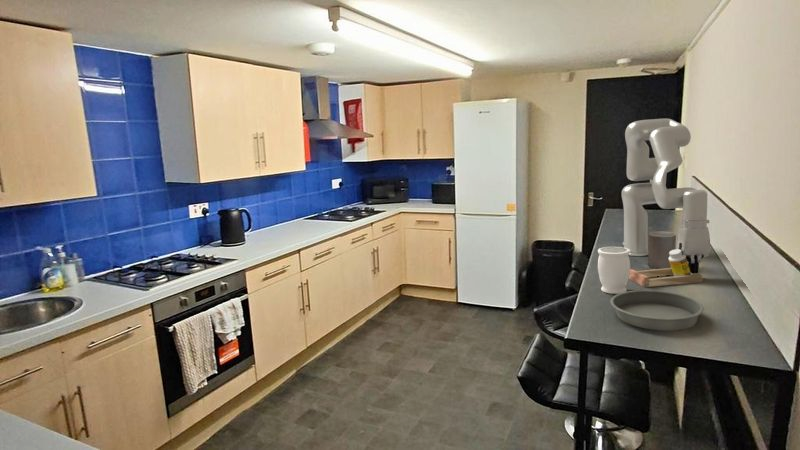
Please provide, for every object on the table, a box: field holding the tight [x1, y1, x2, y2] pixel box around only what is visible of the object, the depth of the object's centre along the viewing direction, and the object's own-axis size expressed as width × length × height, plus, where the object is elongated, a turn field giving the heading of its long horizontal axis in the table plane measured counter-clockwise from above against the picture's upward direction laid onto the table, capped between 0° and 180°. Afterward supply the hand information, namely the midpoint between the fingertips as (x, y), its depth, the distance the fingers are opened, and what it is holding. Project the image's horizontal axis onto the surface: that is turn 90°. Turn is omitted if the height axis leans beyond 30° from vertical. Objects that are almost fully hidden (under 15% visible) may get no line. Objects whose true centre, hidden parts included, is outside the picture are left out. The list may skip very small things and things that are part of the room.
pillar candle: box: [647, 230, 677, 269], centre depth 185 cm, size 10×10×15 cm
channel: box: [628, 268, 703, 288], centre depth 170 cm, size 12×21×4 cm, turn 92°
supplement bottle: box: [668, 248, 692, 276], centre depth 170 cm, size 6×6×10 cm
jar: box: [597, 246, 631, 295], centre depth 163 cm, size 11×10×15 cm
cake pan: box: [610, 289, 705, 331], centre depth 139 cm, size 25×25×4 cm
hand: (693, 272), depth 170 cm, fingers closed
